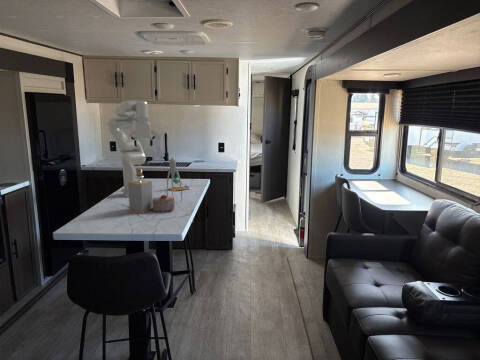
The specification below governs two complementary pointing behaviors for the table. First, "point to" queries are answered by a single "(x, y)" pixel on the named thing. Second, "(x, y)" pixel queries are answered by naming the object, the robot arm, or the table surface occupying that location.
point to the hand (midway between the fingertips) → (143, 146)
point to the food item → (163, 203)
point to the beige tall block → (140, 196)
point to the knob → (139, 174)
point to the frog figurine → (176, 181)
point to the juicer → (172, 168)
